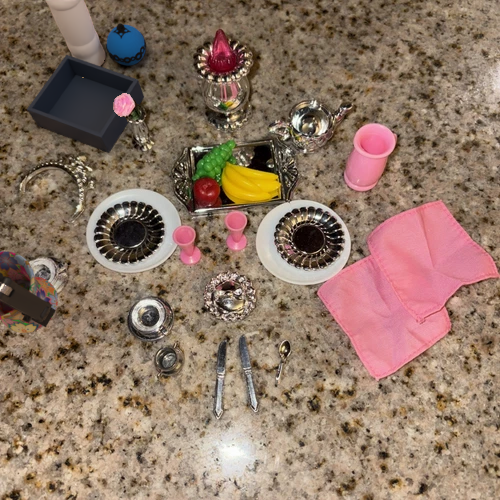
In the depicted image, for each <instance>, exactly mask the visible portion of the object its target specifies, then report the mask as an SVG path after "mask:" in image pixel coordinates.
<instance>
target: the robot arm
mask: <svg viewBox="0 0 500 500" xmlns="http://www.w3.org/2000/svg"><path fill="white" fill-rule="evenodd" d="M0 302H2V303H4V304H6V305H8V306H9V307H11V308H13V309H16V310H18V311H19V312H21V314H22V315H24V317H23V319H22V320H23V321H25V322H28V323H29V322H30V321H31V320H33V321H35V322H36V323H38V324H40V325H42V326H43V328H47V326H48V324H49V323H50V322H51V320H52V319H53V317H54V316H55V314H56V312H57V309H56V310H55V309H53V308H52V304H50V303H49V302H46V301H44V300H43V299H41V298H39V297H38V296H36V295H34V294H33V293H31V292H29V291H28V290H26V289H25V288H23V287H21V286H20V285H18V284H17V283H15V282H14V281H12V280H11V278H9V277H6V276H5V277H4V276H3V274H2V273H0ZM55 311H56V312H55ZM54 313H55V314H54ZM53 315H54V316H53ZM52 316H53V317H52ZM51 318H52V319H51ZM50 319H51V320H50Z"/></svg>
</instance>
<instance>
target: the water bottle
mask: <svg viewBox="0 0 500 500" xmlns="http://www.w3.org/2000/svg"><path fill="white" fill-rule="evenodd" d="M44 1H45V3H46V4H47V6H48V7H49V11H50V12H51V14H52V17H53V19H54V21H55V24H56V25H57V28H58V30H59V32H60V33H61V35H62V37H63V39H64V41H65V44H66V46H67V48H68V50H69V52H70V53H71V56H72V57H75V58H77V59H80V60H83V61H86V62H89V63H92V64H95V65H98V66H100V67H102V65H103V64H104V62H105V61H106V52H105V49H104V47H103V45H102V43H101V39H100V37H99V34H98V33H97V31H96V29H95V26H94V22H93V19H92V17H91V14H90V11H89V9H88V6H87V4H86V2H85V0H44ZM104 60H105V61H104Z"/></svg>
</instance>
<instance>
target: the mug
mask: <svg viewBox="0 0 500 500" xmlns="http://www.w3.org/2000/svg"><path fill="white" fill-rule="evenodd" d="M0 273H2V274H3V276H4V277H5V276H6V277H9V278H11V280H12V281H14V282H15V283H17V284H18V285H20V286H21V287H23V288H25V289H26V290H28V291H29V292H31V293H33V294H34V295H36V296H38V297H39V298H41V299H43V300H44V301H46V302H49V303H50V304H52V308H53V309H55V310H56V311H55V313H54V315H53V316H52V318H51V319H50V321H51V320H52V319H53V317H54V316H55V314H56V312H57V309H58V303H59V299H58V293H57V290H56V288H55V287H54V285H53V284H52V283H51V282H50V281H49V280H47V279H45V278H43V277H40V276H35V271H34V269H33V266H32V265H31V263H30V261H28V260H27V259H26V258H25V257H24V256H22V255H21V254H19V253H16V252H13V251H6V250H3V251H0ZM23 317H24V315H22V314H21V312H19V311H18V310H16V309H13V308H11V307H9V306H8V305H6V304H4V303H2V302H0V320H1V322H2V324H3V325H4V326H5V327H6V328H8V329H9V330H11V331H13V332H14V333H15V332H16V333H21V334H28V333H32V332H33V333H34V332H36V331H38V330H40V329H42V328H44V326H42V325H40V324H38V323H36V322H35V321H33V320H31V321H30V322H29V323H28V322H25V321H23V320H22V319H23Z"/></svg>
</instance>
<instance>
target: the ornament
mask: <svg viewBox="0 0 500 500" xmlns="http://www.w3.org/2000/svg"><path fill="white" fill-rule="evenodd" d="M105 48H106V52H107V53H108V56H109V58H110V59H111V60H112V61H113V62H116V63H118V64H119V65H121V66H127V67H128V66H129V67H130V66H134V65H136V64H138V63H140V61H142V60H143V58H144V56H145V54H146V48H147V42H146V38H145V36H144V35H143V33H142V32H141V31H140V30H139V29H138V28H137V27H134V26H133V25H130V24H123V23H121V22H119V23H118V24H116V26H115V27H113V28H112V29H111V31H109V33H108V35H107V38H106V44H105Z"/></svg>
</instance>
